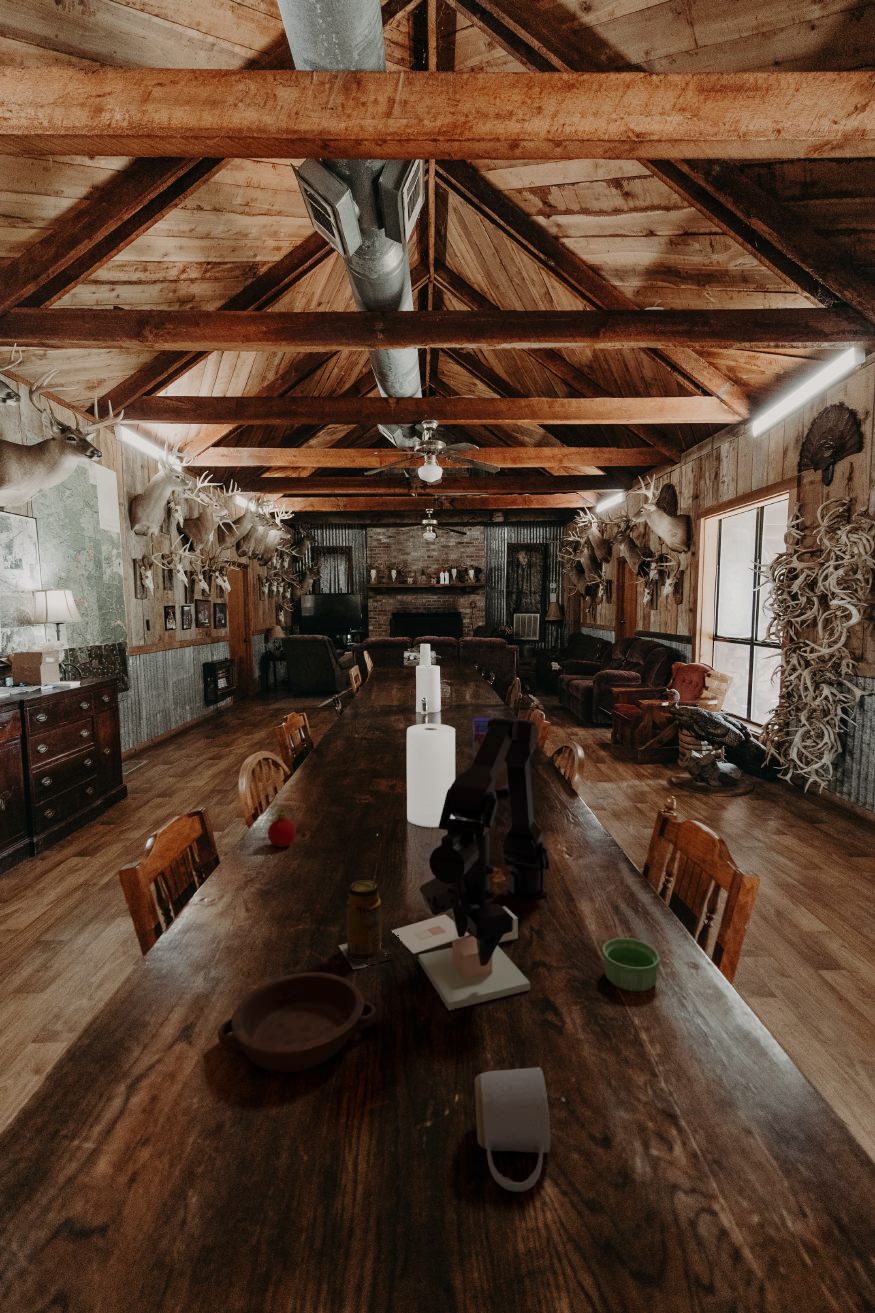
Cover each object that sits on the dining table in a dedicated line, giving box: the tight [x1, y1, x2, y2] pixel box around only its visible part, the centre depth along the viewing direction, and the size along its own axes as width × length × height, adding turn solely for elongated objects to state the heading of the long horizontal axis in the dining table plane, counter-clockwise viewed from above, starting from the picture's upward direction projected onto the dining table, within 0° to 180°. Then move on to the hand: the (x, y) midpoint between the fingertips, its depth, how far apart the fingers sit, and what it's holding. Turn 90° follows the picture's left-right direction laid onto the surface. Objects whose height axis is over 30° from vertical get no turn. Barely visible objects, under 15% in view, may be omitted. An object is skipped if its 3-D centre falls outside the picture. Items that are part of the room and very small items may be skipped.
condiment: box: [338, 879, 387, 970], centre depth 108 cm, size 7×8×12 cm
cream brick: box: [499, 905, 519, 943], centre depth 114 cm, size 5×5×4 cm
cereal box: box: [472, 717, 526, 788], centre depth 208 cm, size 17×5×24 cm, turn 81°
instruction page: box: [391, 914, 471, 955], centre depth 115 cm, size 12×9×1 cm
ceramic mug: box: [474, 1066, 551, 1193], centre depth 68 cm, size 11×8×8 cm
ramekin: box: [602, 937, 661, 992], centre depth 101 cm, size 9×9×4 cm
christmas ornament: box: [267, 807, 297, 848], centre depth 159 cm, size 7×7×10 cm
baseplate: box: [418, 945, 531, 1011], centre depth 102 cm, size 14×14×1 cm
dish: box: [217, 971, 377, 1073], centre depth 87 cm, size 18×22×5 cm
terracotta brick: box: [451, 935, 492, 980], centre depth 101 cm, size 5×5×4 cm
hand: (471, 950), depth 101 cm, fingers open, 9 cm apart
